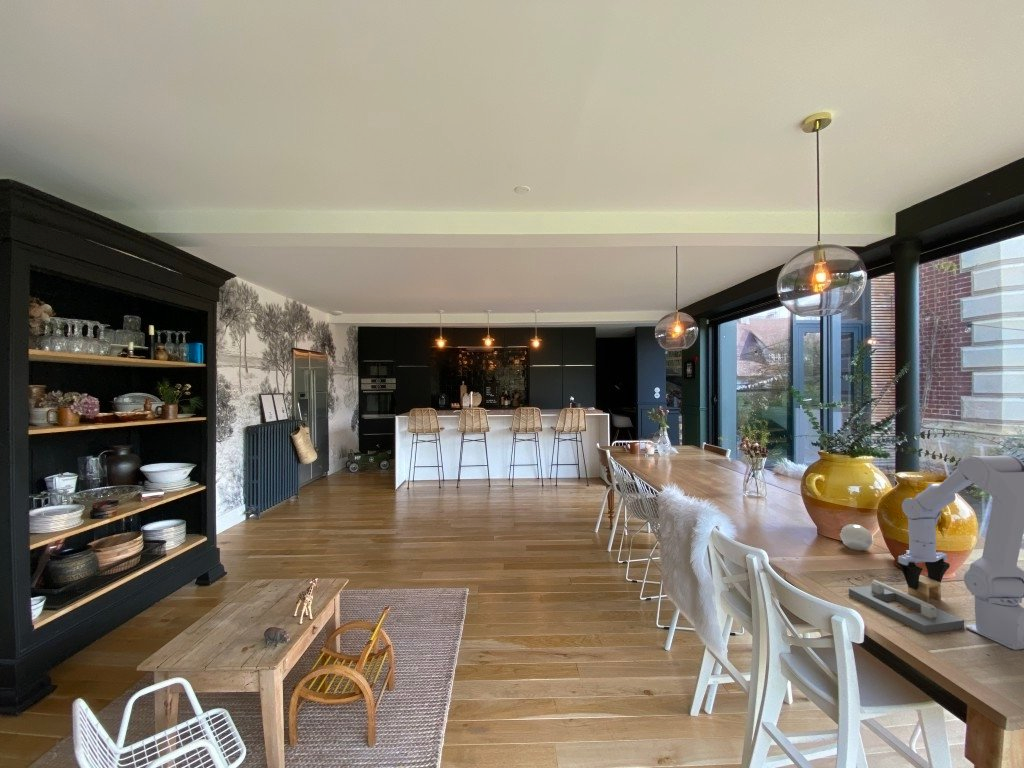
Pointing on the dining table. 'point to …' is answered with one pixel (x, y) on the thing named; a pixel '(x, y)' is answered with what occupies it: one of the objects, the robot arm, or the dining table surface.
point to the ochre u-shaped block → (926, 589)
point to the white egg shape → (856, 537)
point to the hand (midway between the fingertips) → (923, 586)
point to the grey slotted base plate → (924, 621)
